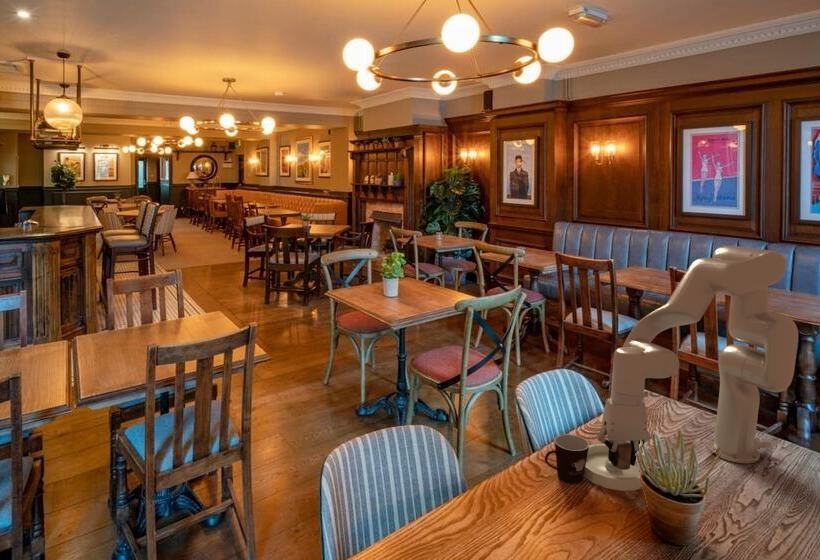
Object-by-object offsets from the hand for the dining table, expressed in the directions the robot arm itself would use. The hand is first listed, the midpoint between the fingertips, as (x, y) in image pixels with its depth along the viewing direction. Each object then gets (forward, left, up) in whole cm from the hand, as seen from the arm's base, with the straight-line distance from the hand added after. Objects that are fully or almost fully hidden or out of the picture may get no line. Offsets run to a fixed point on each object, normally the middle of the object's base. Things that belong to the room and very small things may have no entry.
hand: (621, 462), depth 131 cm
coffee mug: (+14, -3, -6) cm, 15 cm away
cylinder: (0, 0, -1) cm, 1 cm away
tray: (0, -5, -5) cm, 7 cm away
